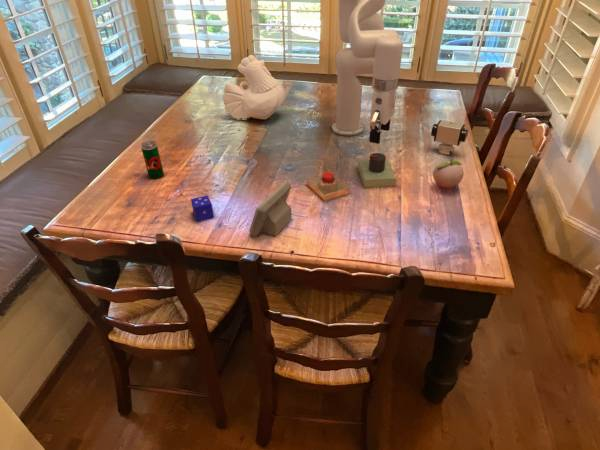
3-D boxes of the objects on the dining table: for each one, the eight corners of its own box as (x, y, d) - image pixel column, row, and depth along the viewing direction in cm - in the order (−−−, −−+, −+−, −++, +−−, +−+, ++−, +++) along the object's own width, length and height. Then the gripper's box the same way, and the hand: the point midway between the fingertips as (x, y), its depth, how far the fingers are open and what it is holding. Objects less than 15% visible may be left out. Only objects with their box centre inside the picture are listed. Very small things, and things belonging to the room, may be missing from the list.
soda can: (166, 173, 150) (159, 141, 143) (158, 180, 146) (150, 148, 139) (154, 171, 151) (146, 139, 144) (145, 178, 148) (137, 146, 140)
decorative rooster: (295, 98, 187) (261, 47, 181) (286, 105, 173) (248, 50, 167) (252, 129, 197) (219, 82, 192) (240, 138, 184) (203, 87, 178)
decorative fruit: (443, 198, 135) (449, 169, 129) (426, 185, 141) (431, 158, 135) (466, 190, 138) (473, 162, 132) (448, 178, 144) (454, 151, 138)
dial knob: (382, 164, 146) (384, 151, 143) (385, 172, 142) (387, 159, 139) (367, 165, 146) (368, 152, 143) (370, 173, 142) (371, 159, 139)
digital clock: (279, 206, 132) (278, 176, 126) (302, 217, 128) (302, 186, 121) (241, 231, 123) (237, 200, 116) (264, 244, 118) (261, 212, 111)
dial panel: (357, 167, 151) (358, 159, 149) (386, 166, 151) (387, 158, 149) (364, 187, 140) (365, 179, 138) (395, 186, 141) (396, 177, 139)
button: (320, 178, 138) (320, 173, 137) (329, 175, 140) (330, 171, 139) (326, 183, 136) (326, 178, 135) (335, 180, 137) (336, 176, 136)
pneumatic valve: (460, 158, 155) (467, 127, 148) (427, 151, 159) (433, 121, 152) (463, 152, 159) (470, 121, 151) (431, 145, 163) (437, 115, 156)
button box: (307, 185, 142) (307, 174, 140) (330, 178, 145) (331, 167, 143) (324, 201, 134) (324, 190, 132) (348, 193, 138) (349, 182, 135)
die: (197, 221, 127) (194, 207, 124) (193, 212, 131) (190, 198, 128) (214, 217, 128) (211, 203, 125) (209, 208, 132) (207, 195, 129)
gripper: (388, 94, 119) (382, 150, 130) (406, 75, 132) (398, 127, 142) (362, 90, 122) (358, 145, 133) (382, 71, 134) (376, 123, 145)
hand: (379, 136), depth 137 cm, fingers open, 9 cm apart
